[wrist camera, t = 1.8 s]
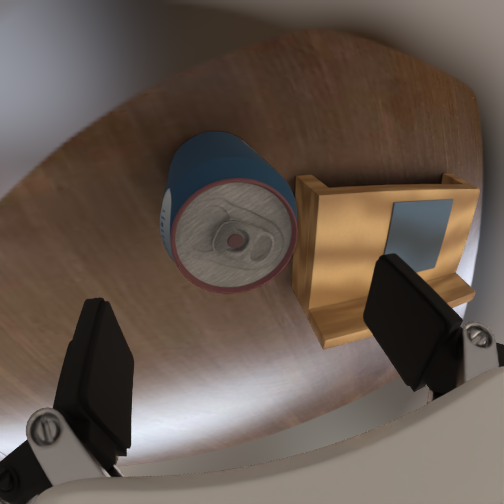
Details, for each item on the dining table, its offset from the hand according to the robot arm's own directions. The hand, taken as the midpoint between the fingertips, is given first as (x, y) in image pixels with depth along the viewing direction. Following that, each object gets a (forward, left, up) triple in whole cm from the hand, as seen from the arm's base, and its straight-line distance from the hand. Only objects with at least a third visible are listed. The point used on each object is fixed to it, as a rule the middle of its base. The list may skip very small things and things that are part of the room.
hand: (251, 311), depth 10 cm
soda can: (0, 0, -16) cm, 16 cm away
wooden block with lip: (+7, +17, -16) cm, 25 cm away
